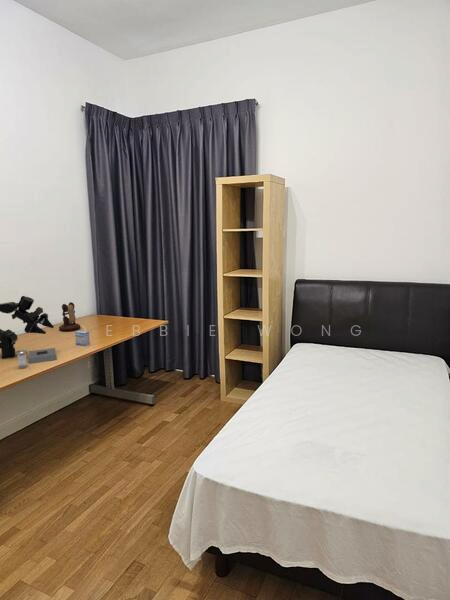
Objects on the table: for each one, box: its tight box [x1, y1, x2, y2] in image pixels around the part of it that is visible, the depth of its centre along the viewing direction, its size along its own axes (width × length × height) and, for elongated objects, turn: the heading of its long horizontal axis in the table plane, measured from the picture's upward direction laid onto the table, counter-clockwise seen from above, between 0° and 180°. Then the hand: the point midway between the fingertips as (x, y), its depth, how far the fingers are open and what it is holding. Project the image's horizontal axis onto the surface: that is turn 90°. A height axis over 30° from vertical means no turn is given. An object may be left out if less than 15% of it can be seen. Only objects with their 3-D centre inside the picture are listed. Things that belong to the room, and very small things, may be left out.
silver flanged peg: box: [15, 349, 28, 370], centre depth 211 cm, size 5×5×9 cm
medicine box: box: [74, 330, 91, 347], centre depth 251 cm, size 8×4×9 cm, turn 69°
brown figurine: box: [58, 301, 81, 332], centre depth 288 cm, size 15×15×20 cm
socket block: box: [28, 347, 57, 364], centre depth 226 cm, size 14×14×3 cm
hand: (49, 330), depth 226 cm, fingers open, 9 cm apart
